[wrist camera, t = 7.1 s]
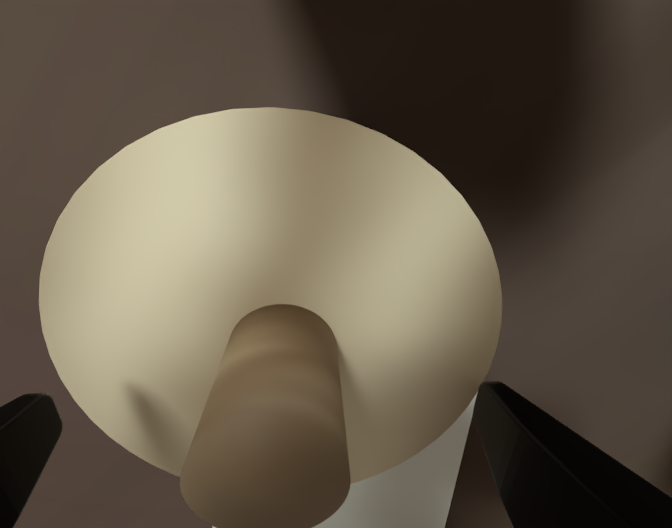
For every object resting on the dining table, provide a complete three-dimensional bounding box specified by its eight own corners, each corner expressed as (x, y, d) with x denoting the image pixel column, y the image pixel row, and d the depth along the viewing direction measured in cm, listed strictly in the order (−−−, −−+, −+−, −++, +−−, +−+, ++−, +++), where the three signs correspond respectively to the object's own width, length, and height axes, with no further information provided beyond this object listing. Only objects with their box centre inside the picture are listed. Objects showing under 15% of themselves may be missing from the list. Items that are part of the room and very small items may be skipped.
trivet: (483, 337, 17) (489, 345, 16) (440, 518, 22) (444, 528, 22) (183, 343, 16) (178, 351, 15) (218, 531, 21) (215, 542, 21)
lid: (533, 113, 8) (766, 116, 4) (452, 463, 13) (519, 629, 8) (-11, 101, 7) (-437, 87, 3) (119, 479, 12) (19, 670, 8)
